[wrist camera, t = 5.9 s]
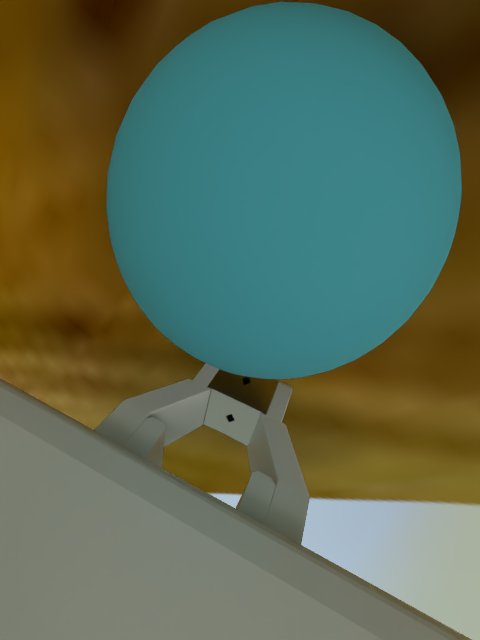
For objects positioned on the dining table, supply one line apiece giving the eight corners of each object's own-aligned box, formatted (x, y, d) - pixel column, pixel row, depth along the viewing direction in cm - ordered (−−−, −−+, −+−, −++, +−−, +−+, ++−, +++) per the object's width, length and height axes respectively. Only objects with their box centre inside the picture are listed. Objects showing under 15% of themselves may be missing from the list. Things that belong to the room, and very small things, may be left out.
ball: (336, 463, 6) (384, 271, 9) (786, 304, 1) (574, -16, 4) (108, 355, 7) (215, 216, 10) (-161, 48, 2) (196, -57, 5)
